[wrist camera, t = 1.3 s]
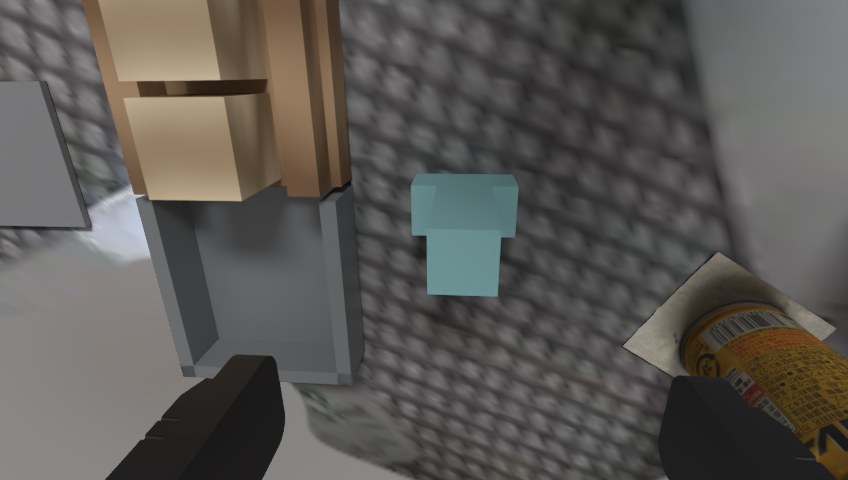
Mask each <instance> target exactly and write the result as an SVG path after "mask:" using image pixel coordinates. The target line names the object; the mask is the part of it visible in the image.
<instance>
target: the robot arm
mask: <svg viewBox="0 0 848 480" xmlns="http://www.w3.org/2000/svg"><path fill="white" fill-rule="evenodd" d="M284 425H285V411H284V405H283V399H282V394H281V387H280V381H279V375H278V369H277V363H276V360H275V359H274V357H273V356H265V355H242V354H236V355H234V356H232V357H231V358H230V359H229V360H228V362H227V363H226V364H225V365H224V366H223V367H222V369H221V370H220V371H219V372H218V373H217V375H216V376H215V377H214V378H213V379H211V378H206V379H204V380H203V381H201V382H200V383H198V384H197V385H195V386H194V387H192V388H191V389H189V390H188V391H186V392H185V393H183V394H182V395H181V396H180V397H179V398H178V399H177V400H176V401H175V402H174V403H173V405H172V406H171V407H170V408H169V409H168V410H167V411H166V412H165V413H164V415H163V416H162V419H161V421H157V423H155V425H154V426H153V427H152V428H151V429H150V430H149V431H148V432H147V434H146V435H145V439H144V440H140V441H139V442H138V444H137V445H136V446H135V447H134V448H133V449H132V450H131V451H130V453H129V454H128V455H127V456H126V457H125V458H124V459H123V460H122V461H121V463H120V464H119V465H118V466H117V467H116V468H115V469H114V470H113V471H112V473H111V474H110V475H109V476H108V477H107V478H106V480H262V478H263V477H264V475H265V472H266V471H267V469H268V467H269V465H270V463H271V461H272V459H273V457H274V455H275V453H276V451H277V448H278V447H279V444H280V442H281V439H282V436H283V432H284ZM659 453H660V459H661V462H662V466H663V468H664V471H665V473H666V475H667V477H668V479H669V480H837V479H836V478H835V477H834V476H833V475H832V474H831V472H830V471H829V470H828V469H827V468H826V467H825V466H824V465H823V464H822V463H820V462H817V461H816V456H815V455H814V454H813V453H812V452H811V451H810V450H809V449H808V448H807V447H806V446H805V445H804V443H803V442H802V441H801V440H800V439H799V438H798V437H797V436H796V435H795V434H794V433H793V432H792V431H791V430H790V429H789V428H787V427H786V426H784V425H783V424H782V423H780V422H779V421H777V420H776V419H774V418H773V417H771V416H770V415H769V414H767V413H766V412H764V411H763V410H761V409H760V408H758V407H750V406H749V404H748V403H747V402H746V401H745V400H744V399H743V398H742V396H741V395H740V394H739V393H738V392H737V391H736V390H735V388H734V387H733V386H732V385H731V384H730V383H729V382H728V381H727V380H726V379H724V378H722V377H708V376H685V375H679V376H676V377H675V378H674V379H673V381H672V384H671V388H670V392H669V396H668V400H667V405H666V409H665V413H664V417H663V421H662V425H661V430H660V434H659Z"/></svg>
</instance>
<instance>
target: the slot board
mask: <svg viewBox="0 0 848 480" xmlns="http://www.w3.org/2000/svg"><path fill="white" fill-rule="evenodd" d="M82 4H83V7H84V11H85V15H86V18H87V22H88V26H89V29H90V33H91V37H92V40H93V44H94V48H95V52H96V55H97V59H98V63H99V66H100V70H101V74H102V77H103V81H104V85H105V89H106V92H107V96H108V100H109V103H110V107H111V111H112V114H113V118H114V122H115V126H116V129H117V133H118V137H119V140H120V144H121V148H122V151H123V155H124V159H125V163H126V166H127V170H128V174H129V177H130V181H131V185H132V188H133V192H134V194H145V195H148V192H147V188H146V184H145V180H144V177H143V173H142V169H141V165H140V161H139V157H138V153H137V149H136V146H135V142H134V138H133V134H132V130H131V126H130V122H129V118H128V115H127V111H126V107H125V103H124V99H123V98H133V97H147V96H161V95H175V94H203V93H270V98H271V106H272V113H273V120H274V128H275V135H276V142H277V150H278V157H279V164H280V172H281V179H280V180H278V181H276V182H275V183H273V184H271V185H269V186H287V193H288V196H293V197H320V196H322V195H323V194H324V193H325V192H326V191H327V190H329V189H330V188H331V187H342V186H343V185H344V184H345V183H347V182H348V181H349V180H350V179H351V178H352V176H351V163H350V149H349V136H348V123H347V110H346V96H345V83H344V70H343V56H342V43H341V30H340V17H339V3H338V0H257V4H258V11H259V18H260V25H261V33H262V40H263V47H264V55H265V62H266V69H267V77H268V79H246V80H192V81H119V80H118V76H117V72H116V68H115V64H114V60H113V56H112V53H111V49H110V45H109V41H108V37H107V33H106V29H105V25H104V21H103V18H102V14H101V10H100V6H99V2H98V0H82Z"/></svg>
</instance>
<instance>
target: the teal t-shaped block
mask: <svg viewBox="0 0 848 480" xmlns="http://www.w3.org/2000/svg"><path fill="white" fill-rule="evenodd" d="M518 191H519V186H518V184H517V182H516V180H515V178H514V176H513V174H416V176H415V178H414V180H413V182H412V184H411V218H412V235H419V236H427V294H434V295H463V296H493V297H498V281H499V264H500V247H501V237H511V238H515V232H516V218H517V204H518Z"/></svg>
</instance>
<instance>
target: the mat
mask: <svg viewBox="0 0 848 480" xmlns="http://www.w3.org/2000/svg"><path fill="white" fill-rule="evenodd" d="M90 225H91V222H90V219H89V216H88V213H87V210H86V206H85V203H84V200H83V197H82V194H81V191H80V187H79V184H78V181H77V178H76V175H75V172H74V169H73V165H72V162H71V159H70V156H69V153H68V150H67V146H66V143H65V140H64V137H63V134H62V131H61V128H60V124H59V121H58V118H57V115H56V112H55V109H54V105H53V102H52V99H51V96H50V93H49V90H48V87H47V83H46V81H30V82H0V226H48V227H88V226H90Z"/></svg>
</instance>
